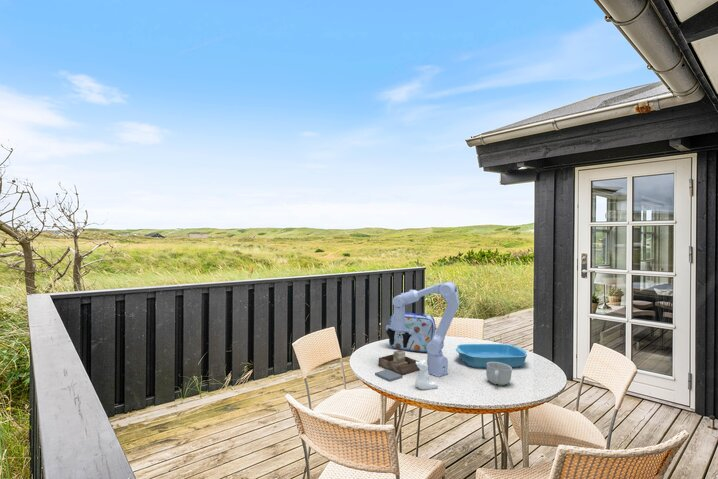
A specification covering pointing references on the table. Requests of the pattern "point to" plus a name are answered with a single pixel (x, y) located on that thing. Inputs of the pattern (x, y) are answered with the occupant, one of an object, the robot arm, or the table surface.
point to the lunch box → (415, 332)
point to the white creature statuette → (424, 377)
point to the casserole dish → (491, 354)
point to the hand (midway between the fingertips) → (398, 345)
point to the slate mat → (388, 375)
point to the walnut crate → (398, 365)
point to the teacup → (498, 373)
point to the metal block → (399, 356)
